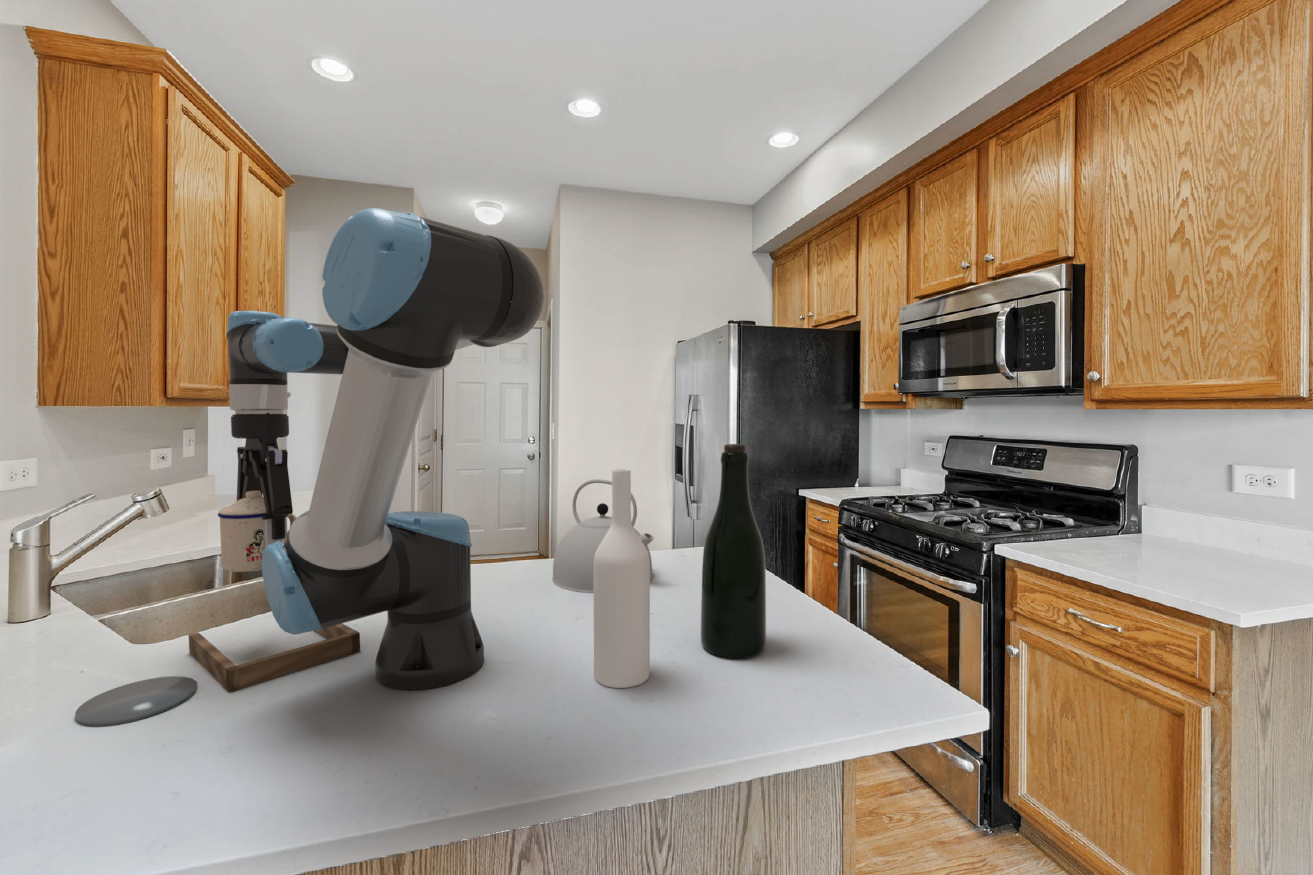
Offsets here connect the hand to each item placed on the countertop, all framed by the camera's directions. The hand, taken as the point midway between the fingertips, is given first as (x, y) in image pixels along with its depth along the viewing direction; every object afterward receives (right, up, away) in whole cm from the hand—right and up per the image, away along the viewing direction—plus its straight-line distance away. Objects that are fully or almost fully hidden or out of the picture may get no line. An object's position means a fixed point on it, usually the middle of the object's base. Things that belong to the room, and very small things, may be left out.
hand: (265, 554), depth 93 cm
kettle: (+51, -14, +40) cm, 66 cm away
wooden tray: (+2, -15, 0) cm, 15 cm away
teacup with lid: (0, -2, 0) cm, 2 cm away
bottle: (+57, -16, -8) cm, 60 cm away
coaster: (-6, -16, -16) cm, 23 cm away
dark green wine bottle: (+75, -16, +2) cm, 76 cm away
